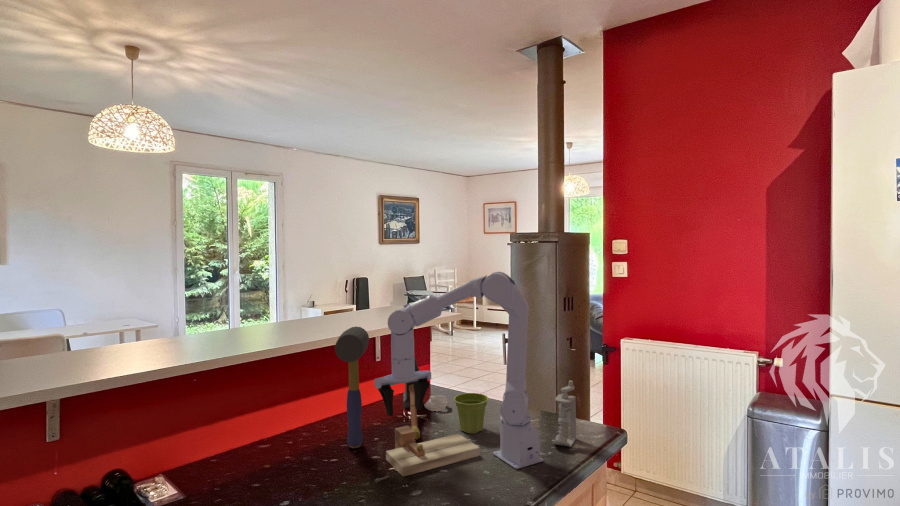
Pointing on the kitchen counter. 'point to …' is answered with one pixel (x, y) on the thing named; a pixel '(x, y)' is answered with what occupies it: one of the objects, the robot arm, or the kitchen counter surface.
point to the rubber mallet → (353, 378)
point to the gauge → (408, 440)
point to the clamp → (566, 416)
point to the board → (432, 454)
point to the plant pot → (471, 411)
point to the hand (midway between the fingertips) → (404, 412)
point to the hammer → (411, 404)
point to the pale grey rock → (436, 403)
